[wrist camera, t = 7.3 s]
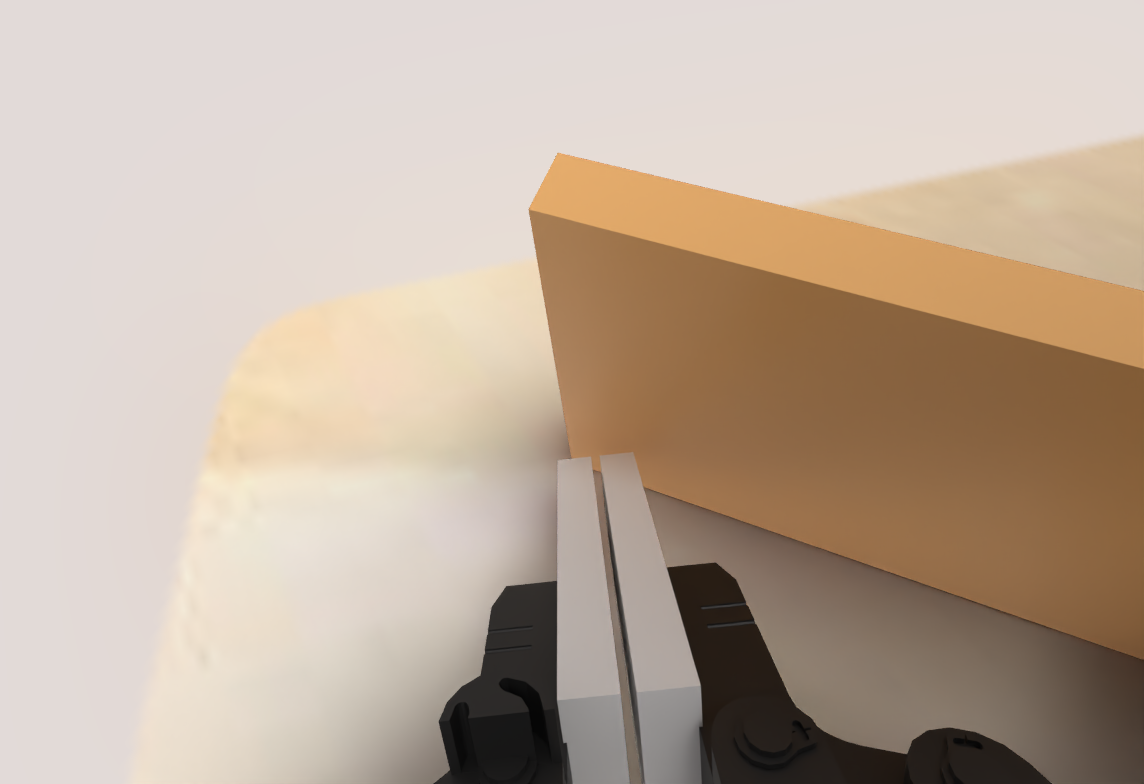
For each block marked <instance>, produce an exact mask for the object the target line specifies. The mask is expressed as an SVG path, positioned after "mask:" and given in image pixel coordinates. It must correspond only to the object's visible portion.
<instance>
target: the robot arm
mask: <svg viewBox="0 0 1144 784" xmlns="http://www.w3.org/2000/svg"><path fill="white" fill-rule="evenodd" d="M600 464H601V474H602V484H603V494H604V504H605V514H606V524H607V534H608V544H609V554H610V562H611V569H612V576H613V583H614V591H615V598H616V605H617V612H618V619H619V626H620V633H621V640H622V647H623V654H624V661H625V668H626V675H627V682H628V690H629V697H630V704H631V711H632V718H633V725H634V732H635V739H636V746H637V753H638V760H639V767H640V774H641V781H642V784H1052V783H1051V782H1049V781H1048V780H1047V779H1046V778H1045V777H1044V776H1043V775H1042V774H1041V773H1039V772H1038V771H1037V770H1036V769H1035V768H1034V767H1033V766H1032V765H1031V764H1030V763H1028V762H1027V761H1025V760H1024V759H1023V758H1021V757H1020V756H1019V755H1017V754H1016V753H1014V752H1013V751H1012V750H1010V749H1009V748H1008V747H1006V746H1005V745H1003V744H1001V743H999V742H996V741H994V740H992V739H990V738H987V737H985V736H983V735H981V734H978V733H976V732H971V731H965V730H960V729H954V728H943V729H935V730H928V731H926V732H925V733H923V734H922V735H920V736H919V737H917V738H916V739H914V740H913V741H912V743H911V746H910V749H909V751H908V754H901V753H896V752H891V751H886V750H881V749H875V748H870V747H865V746H860V745H857V744H853V743H850V742H846V741H843V740H840V739H838V738H836V737H834V736H832V735H830V734H828V733H826V732H824V731H822V730H821V729H820V728H818V727H817V726H816V724H815V723H814V721H813V720H812V719H811V718H810V717H809V716H807V715H806V714H805V713H803V712H802V711H801V710H799V709H798V708H797V707H796V706H795V704H794V703H793V701H792V700H791V698H790V696H789V694H788V692H787V690H786V688H785V686H784V683H783V681H782V679H781V677H780V675H779V673H778V670H777V668H776V666H775V664H774V662H773V660H772V657H771V655H770V653H769V651H768V649H767V646H766V644H765V642H764V640H763V638H762V636H761V633H760V631H759V629H758V627H757V625H756V624H755V622H754V618H753V616H752V614H751V612H750V609H749V607H748V606H747V605H746V601H745V599H744V596H743V594H742V592H741V590H740V588H739V585H738V583H737V581H736V579H734V578H733V577H732V576H731V575H730V574H729V573H727V572H726V571H725V570H724V569H723V568H722V567H720V566H719V565H718V564H717V563H707V564H697V565H687V566H678V567H668V568H667V567H666V564H665V560H664V557H663V553H662V550H661V546H660V543H659V539H658V536H657V532H656V529H655V526H654V522H653V519H652V515H651V512H650V508H649V505H648V501H647V498H646V494H645V491H644V487H643V484H642V481H641V477H640V474H639V470H638V467H637V463H636V460H635V456H634V453H633V452H629V453H619V454H610V455H601V456H600ZM439 725H440V729H441V733H442V737H443V742H444V746H445V750H446V754H447V759H448V763H449V767H450V771H449V772H448V773H446V774H445V775H444V776H443V777H441V778H440V779H439V780H438V781H436V782H435V783H434V784H630V779H629V769H628V760H627V750H626V740H625V730H624V721H623V711H622V701H621V692H620V684H619V676H618V668H617V660H616V652H615V644H614V636H613V628H612V620H611V612H610V604H609V596H608V588H607V580H606V572H605V564H604V556H603V548H602V540H601V532H600V524H599V516H598V508H597V500H596V492H595V484H594V476H593V468H592V460H591V457H582V458H573V459H563V460H558V468H557V581H553V582H544V583H534V584H525V585H515V586H506V588H505V589H504V591H503V592H502V593H501V595H500V596H499V598H498V599H497V600H496V602H495V603H494V605H493V606H492V609H491V615H490V621H489V627H488V635H487V640H486V646H485V655H484V659H483V665H482V671H481V676H479V677H477V678H476V679H474V680H472V681H471V682H469V683H467V684H466V685H464V686H462V687H461V688H460V689H459V690H458V691H457V692H456V693H455V695H454V696H453V697H452V698H451V699H450V700H449V701H448V702H447V704H446V706H445V708H444V711H443V713H442V715H441V718H440V720H439Z"/></svg>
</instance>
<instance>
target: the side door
mask: <svg viewBox="0 0 1144 784" xmlns="http://www.w3.org/2000/svg"><path fill="white" fill-rule="evenodd" d="M529 215H530V220H531V226H532V232H533V238H534V244H535V249H536V255H537V261H538V267H539V273H540V278H541V284H542V290H543V296H544V302H545V308H546V313H547V319H548V325H549V331H550V337H551V342H552V348H553V354H554V360H555V366H556V371H557V377H558V383H559V389H560V395H561V401H562V406H563V412H564V418H565V424H566V430H567V435H568V441H569V447H570V453H571V459H573V458H582V457H591V460H592V468H593V470H596V471H599V472H601V464H600V456H601V455H610V454H619V453H629V452H633V453H634V456H635V460H636V463H637V467H638V470H639V474H640V477H641V481H642V484H643V487H645V488H648V489H651V490H654V491H656V492H659V493H662V494H665V495H668V496H671V497H674V498H677V499H680V500H682V501H685V502H688V503H691V504H694V505H697V506H700V507H703V508H706V509H708V510H711V511H714V512H717V513H720V514H723V515H726V516H729V517H732V518H734V519H737V520H740V521H743V522H746V523H749V524H752V525H755V526H758V527H760V528H763V529H766V530H769V531H772V532H775V533H778V534H781V535H784V536H786V537H789V538H792V539H795V540H798V541H801V542H804V543H807V544H810V545H813V546H815V547H818V548H821V549H824V550H827V551H830V552H833V553H836V554H839V555H841V556H844V557H847V558H850V559H853V560H856V561H859V562H862V563H865V564H867V565H870V566H873V567H876V568H879V569H882V570H885V571H888V572H891V573H893V574H896V575H899V576H902V577H905V578H908V579H911V580H914V581H917V582H919V583H922V584H925V585H928V586H931V587H934V588H937V589H940V590H943V591H945V592H948V593H951V594H954V595H957V596H960V597H963V598H966V599H969V600H971V601H974V602H977V603H980V604H983V605H986V606H989V607H992V608H995V609H997V610H1000V611H1003V612H1006V613H1009V614H1012V615H1015V616H1018V617H1021V618H1023V619H1026V620H1029V621H1032V622H1035V623H1038V624H1041V625H1044V626H1047V627H1049V628H1052V629H1055V630H1058V631H1061V632H1064V633H1067V634H1070V635H1073V636H1075V637H1078V638H1081V639H1084V640H1087V641H1090V642H1093V643H1096V644H1099V645H1101V646H1104V647H1107V648H1110V649H1113V650H1116V651H1119V652H1122V653H1125V654H1127V655H1130V656H1133V657H1136V658H1139V659H1142V660H1144V291H1141V290H1137V289H1133V288H1128V287H1124V286H1120V285H1116V284H1111V283H1107V282H1103V281H1099V280H1094V279H1090V278H1086V277H1082V276H1078V275H1073V274H1069V273H1065V272H1061V271H1056V270H1052V269H1048V268H1044V267H1039V266H1035V265H1031V264H1027V263H1023V262H1018V261H1014V260H1010V259H1006V258H1001V257H997V256H993V255H989V254H984V253H980V252H976V251H972V250H968V249H963V248H959V247H955V246H951V245H946V244H942V243H938V242H934V241H929V240H925V239H921V238H917V237H912V236H908V235H904V234H900V233H896V232H891V231H887V230H883V229H879V228H874V227H870V226H866V225H862V224H857V223H853V222H849V221H845V220H841V219H836V218H832V217H828V216H824V215H819V214H815V213H811V212H807V211H802V210H798V209H794V208H790V207H785V206H781V205H777V204H773V203H769V202H764V201H760V200H755V199H752V198H747V197H743V196H739V195H735V194H730V193H726V192H722V191H718V190H713V189H709V188H705V187H701V186H697V185H692V184H688V183H683V182H680V181H675V180H671V179H667V178H662V177H658V176H654V175H650V174H646V173H641V172H637V171H633V170H628V169H625V168H620V167H616V166H611V165H608V164H603V163H599V162H595V161H591V160H587V159H582V158H578V157H574V156H570V155H565V154H561V153H557V156H556V158H555V159H554V161H553V163H552V165H551V167H550V169H549V171H548V173H547V175H546V177H545V179H544V181H543V182H542V184H541V186H540V188H539V190H538V192H537V194H536V196H535V198H534V200H533V202H532V204H531V206H530V208H529Z"/></svg>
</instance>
